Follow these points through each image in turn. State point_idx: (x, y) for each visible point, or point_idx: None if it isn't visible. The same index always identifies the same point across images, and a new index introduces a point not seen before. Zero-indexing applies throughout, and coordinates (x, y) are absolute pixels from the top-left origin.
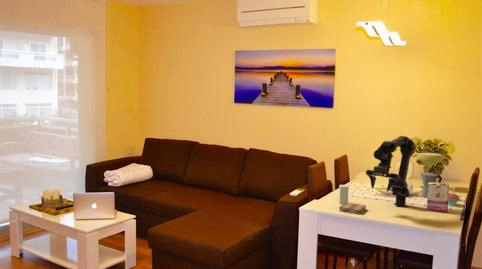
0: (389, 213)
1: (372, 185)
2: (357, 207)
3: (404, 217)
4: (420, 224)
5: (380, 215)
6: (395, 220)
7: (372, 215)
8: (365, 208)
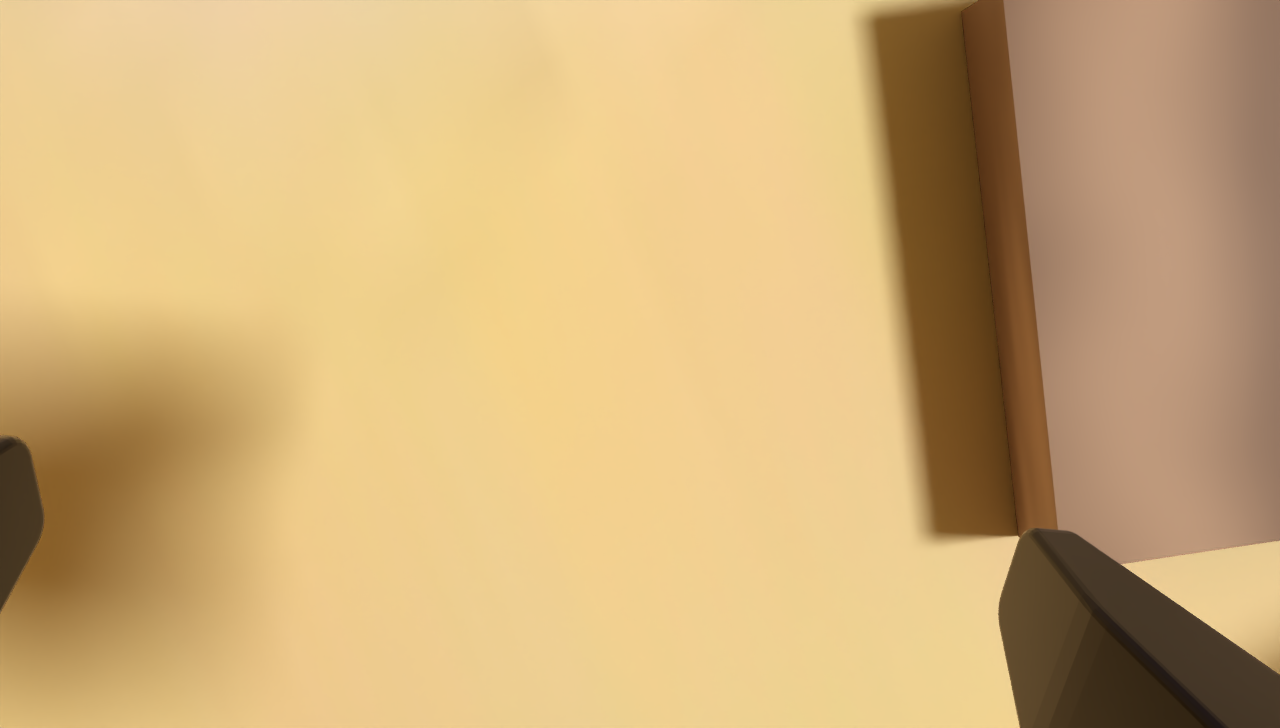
0: (431, 587)
1: (1114, 620)
2: (1169, 204)
3: None
4: None
5: (525, 280)
6: (75, 111)
7: (677, 146)
8: (1028, 523)
